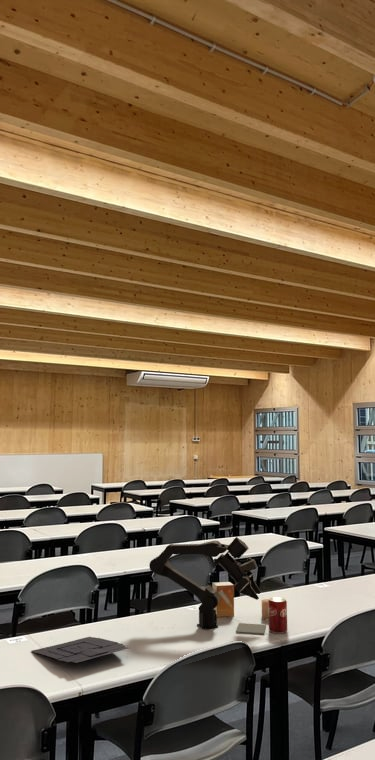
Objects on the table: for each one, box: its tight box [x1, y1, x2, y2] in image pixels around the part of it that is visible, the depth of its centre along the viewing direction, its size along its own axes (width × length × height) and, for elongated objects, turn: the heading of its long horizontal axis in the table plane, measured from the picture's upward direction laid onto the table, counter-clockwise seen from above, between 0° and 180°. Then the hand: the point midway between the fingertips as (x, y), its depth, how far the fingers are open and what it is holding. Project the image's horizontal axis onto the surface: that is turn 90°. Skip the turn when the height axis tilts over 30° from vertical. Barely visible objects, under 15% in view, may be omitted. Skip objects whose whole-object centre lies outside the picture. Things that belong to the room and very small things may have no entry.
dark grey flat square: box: [31, 636, 130, 664], centre depth 193 cm, size 24×30×4 cm
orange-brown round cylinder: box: [261, 598, 270, 621], centre depth 237 cm, size 6×6×7 cm
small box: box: [211, 581, 235, 618], centre depth 243 cm, size 8×6×13 cm
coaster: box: [235, 622, 267, 636], centre depth 221 cm, size 11×11×1 cm
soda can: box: [268, 597, 288, 635], centre depth 220 cm, size 7×7×12 cm
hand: (259, 596), depth 222 cm, fingers open, 9 cm apart
